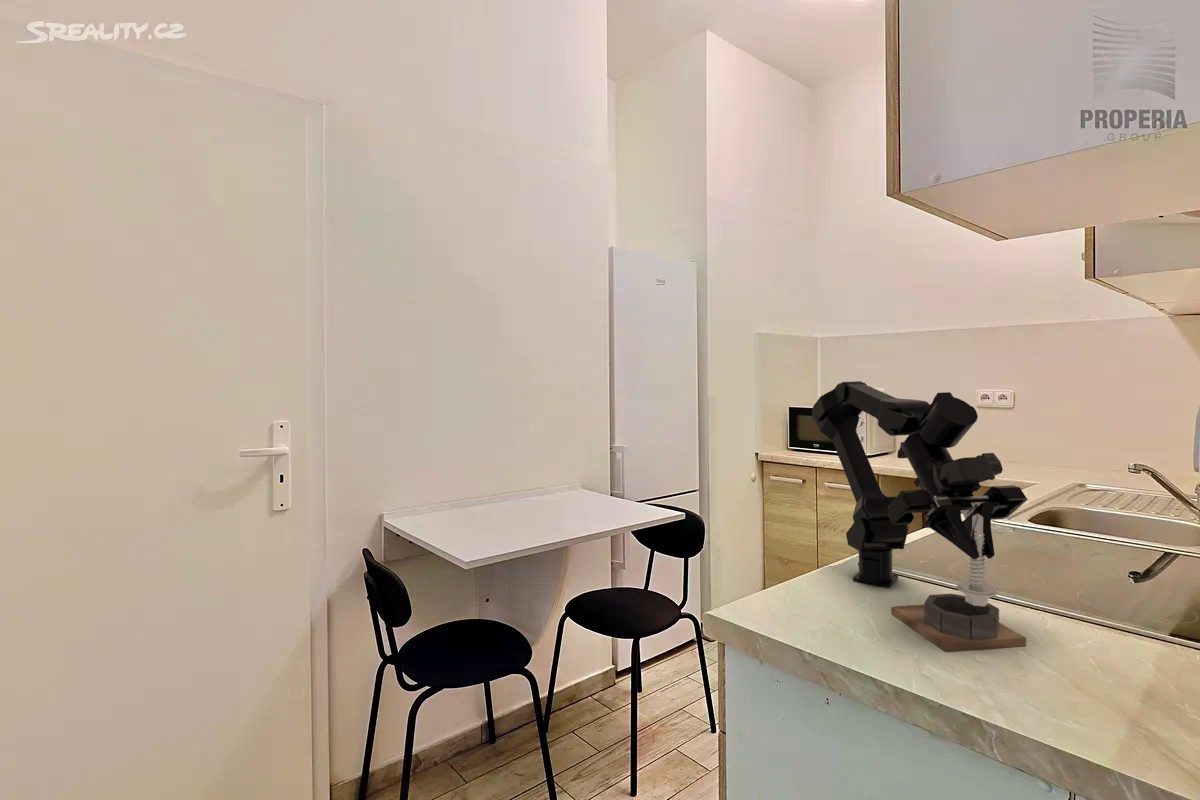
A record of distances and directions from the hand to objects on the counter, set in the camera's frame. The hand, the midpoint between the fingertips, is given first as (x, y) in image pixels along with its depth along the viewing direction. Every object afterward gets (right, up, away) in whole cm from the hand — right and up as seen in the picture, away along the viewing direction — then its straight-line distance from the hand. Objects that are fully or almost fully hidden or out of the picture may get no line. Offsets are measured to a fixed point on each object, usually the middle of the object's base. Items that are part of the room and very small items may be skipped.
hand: (984, 557), depth 81 cm
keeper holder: (0, -13, +7) cm, 14 cm away
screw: (0, -7, +2) cm, 7 cm away
